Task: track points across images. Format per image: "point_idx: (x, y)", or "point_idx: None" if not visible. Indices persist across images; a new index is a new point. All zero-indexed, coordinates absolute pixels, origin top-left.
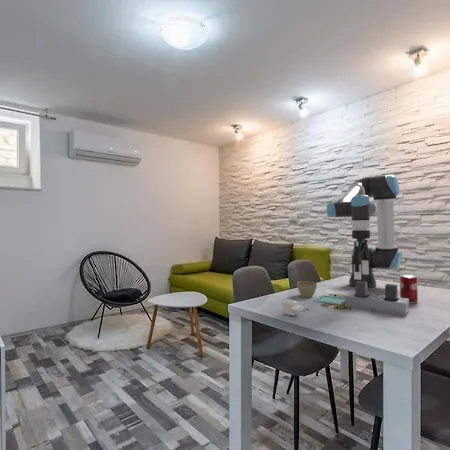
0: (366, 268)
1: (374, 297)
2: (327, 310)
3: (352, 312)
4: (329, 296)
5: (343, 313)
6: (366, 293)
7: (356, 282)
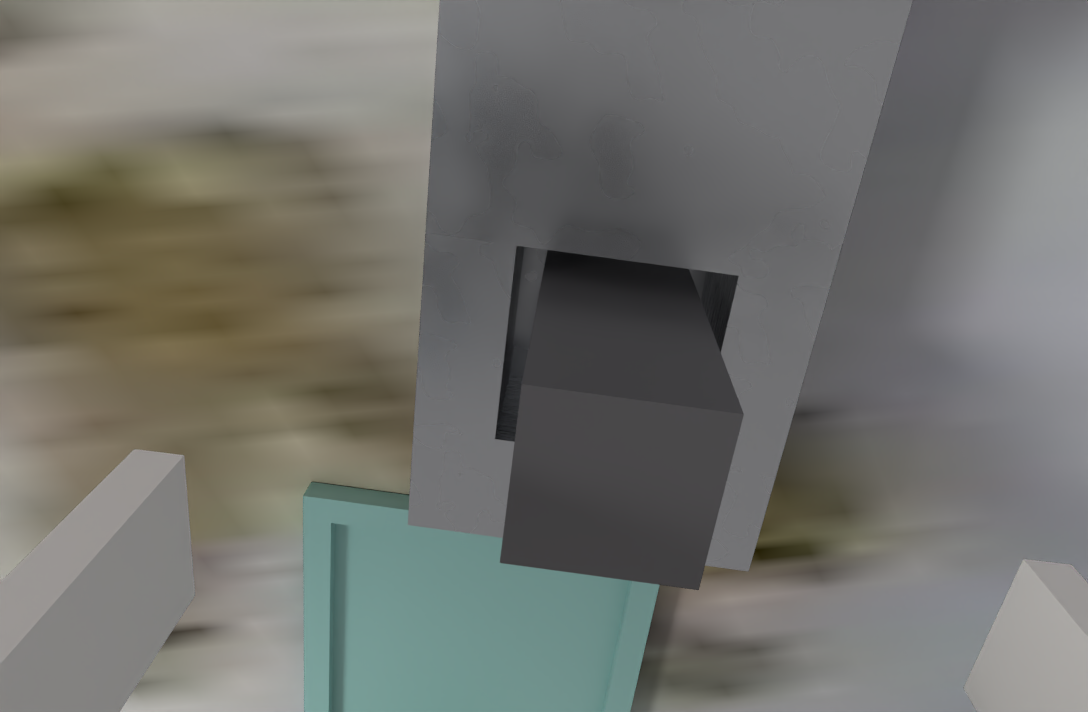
0: (78, 628)
1: (682, 152)
2: (945, 617)
3: (962, 374)
4: (330, 684)
5: (1040, 459)
6: (616, 305)
7: (677, 578)
